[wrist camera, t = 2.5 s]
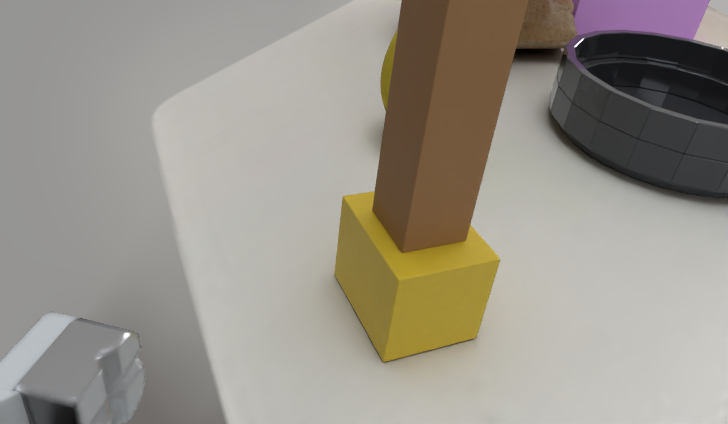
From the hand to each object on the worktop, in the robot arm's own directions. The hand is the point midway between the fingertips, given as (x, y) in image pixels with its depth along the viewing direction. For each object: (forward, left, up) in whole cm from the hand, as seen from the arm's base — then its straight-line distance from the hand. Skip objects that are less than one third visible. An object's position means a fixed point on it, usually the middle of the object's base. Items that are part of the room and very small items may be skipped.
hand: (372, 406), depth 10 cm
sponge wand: (-10, +7, -9) cm, 15 cm away
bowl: (-19, +30, -9) cm, 37 cm away
